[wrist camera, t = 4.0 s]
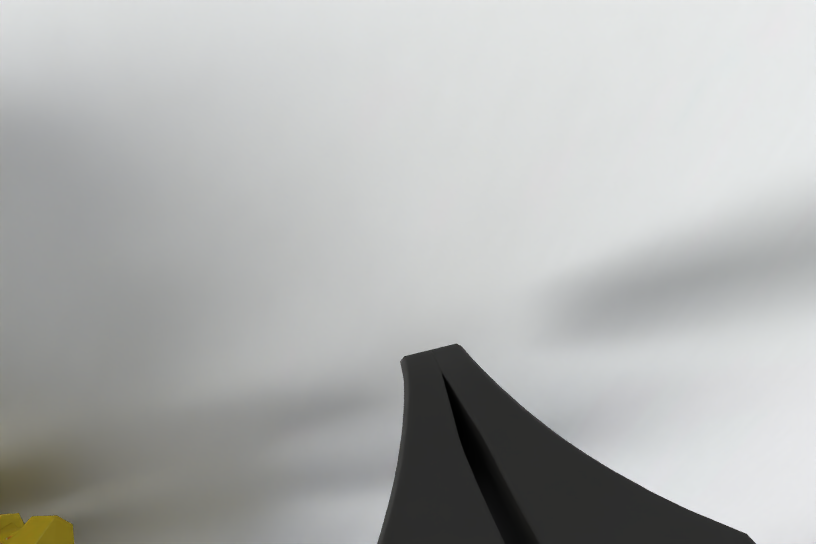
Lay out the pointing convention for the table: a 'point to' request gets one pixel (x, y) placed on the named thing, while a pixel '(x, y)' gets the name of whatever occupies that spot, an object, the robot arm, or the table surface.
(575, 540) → the robot arm
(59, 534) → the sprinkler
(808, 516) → the table surface
